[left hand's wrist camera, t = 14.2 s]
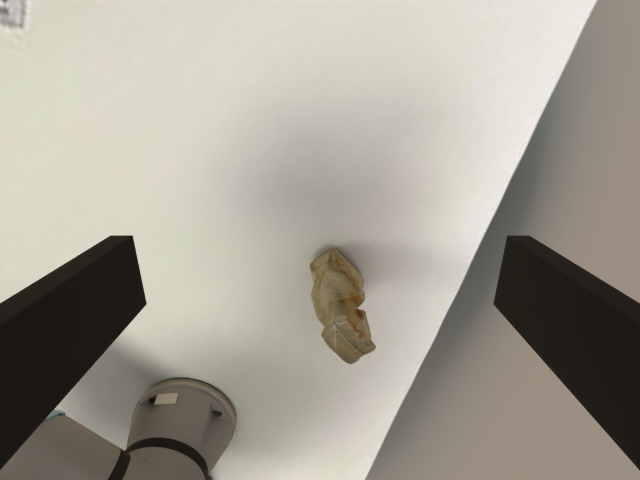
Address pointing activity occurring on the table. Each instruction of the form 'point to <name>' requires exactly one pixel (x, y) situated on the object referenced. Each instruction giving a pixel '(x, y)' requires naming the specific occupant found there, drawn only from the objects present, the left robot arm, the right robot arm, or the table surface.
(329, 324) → the sculpture
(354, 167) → the table surface
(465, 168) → the table surface
